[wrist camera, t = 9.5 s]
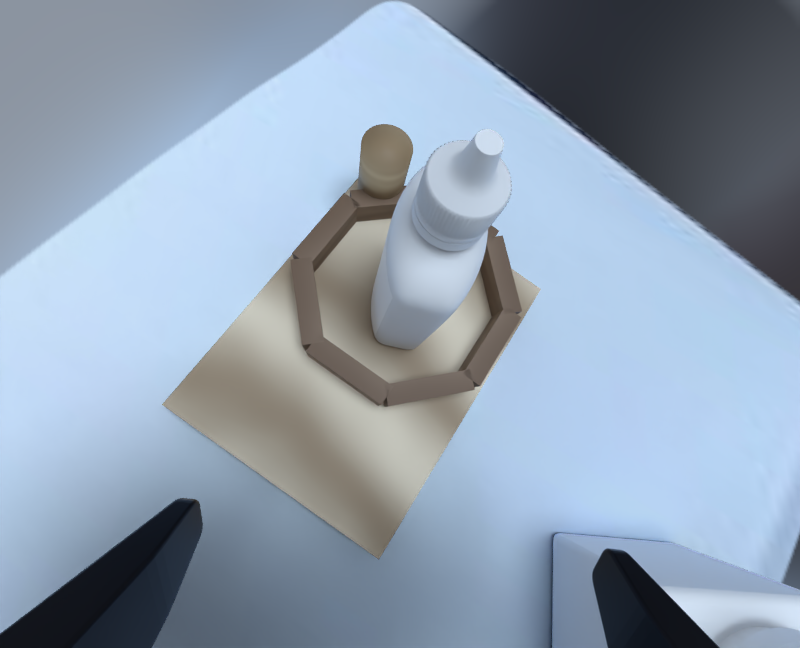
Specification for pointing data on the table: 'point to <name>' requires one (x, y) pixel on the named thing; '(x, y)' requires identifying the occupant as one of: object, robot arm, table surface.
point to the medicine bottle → (674, 594)
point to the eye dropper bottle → (438, 239)
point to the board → (350, 365)
